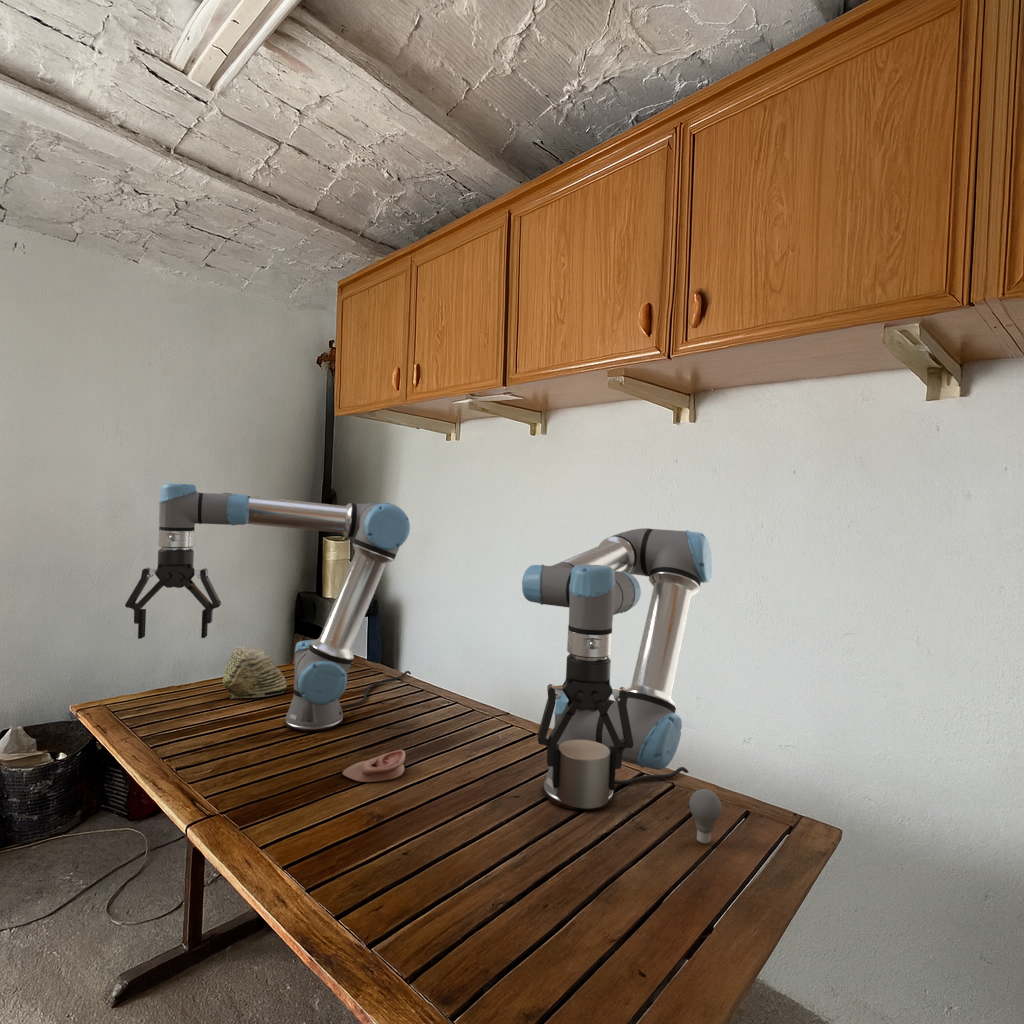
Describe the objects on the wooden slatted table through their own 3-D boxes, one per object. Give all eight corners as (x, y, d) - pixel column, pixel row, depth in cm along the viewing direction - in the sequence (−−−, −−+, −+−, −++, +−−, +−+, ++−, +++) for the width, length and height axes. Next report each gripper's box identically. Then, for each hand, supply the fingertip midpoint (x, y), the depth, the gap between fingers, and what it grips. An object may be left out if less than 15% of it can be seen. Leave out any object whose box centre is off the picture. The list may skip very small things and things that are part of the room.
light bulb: (682, 833, 125) (685, 783, 125) (712, 833, 125) (714, 783, 125) (694, 850, 119) (696, 797, 119) (725, 850, 119) (727, 798, 119)
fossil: (218, 695, 195) (220, 647, 195) (278, 685, 208) (279, 640, 207) (228, 703, 189) (230, 653, 188) (289, 692, 201) (290, 645, 201)
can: (619, 800, 108) (621, 753, 108) (580, 813, 103) (582, 764, 103) (584, 780, 115) (586, 736, 115) (545, 791, 110) (547, 745, 110)
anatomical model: (336, 761, 142) (359, 742, 153) (336, 778, 142) (358, 758, 153) (392, 768, 139) (411, 749, 151) (391, 786, 139) (410, 765, 151)
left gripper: (111, 548, 144) (108, 641, 144) (229, 550, 150) (226, 640, 150) (123, 545, 151) (120, 634, 152) (235, 548, 157) (232, 633, 158)
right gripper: (526, 658, 105) (520, 792, 105) (657, 663, 105) (650, 798, 105) (525, 647, 112) (519, 773, 113) (647, 652, 113) (641, 778, 113)
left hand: (173, 637), depth 151 cm, fingers open, 13 cm apart
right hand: (582, 785), depth 109 cm, fingers closed on can, 9 cm apart
